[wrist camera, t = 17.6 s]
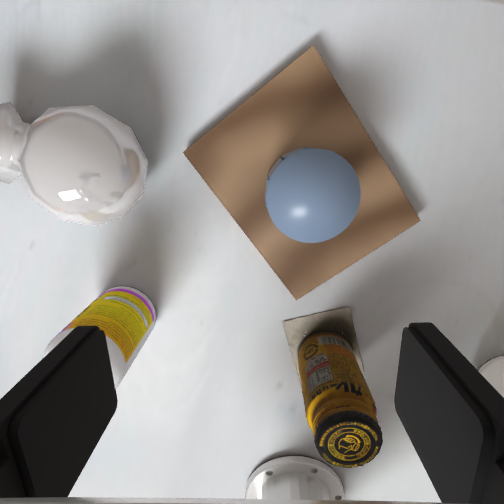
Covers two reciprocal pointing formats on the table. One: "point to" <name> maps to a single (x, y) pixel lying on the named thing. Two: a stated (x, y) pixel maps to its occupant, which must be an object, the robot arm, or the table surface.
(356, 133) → the post base
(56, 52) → the table surface
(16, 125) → the potion bottle
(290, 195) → the cap
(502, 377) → the lidded jar
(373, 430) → the condiment
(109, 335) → the supplement bottle
